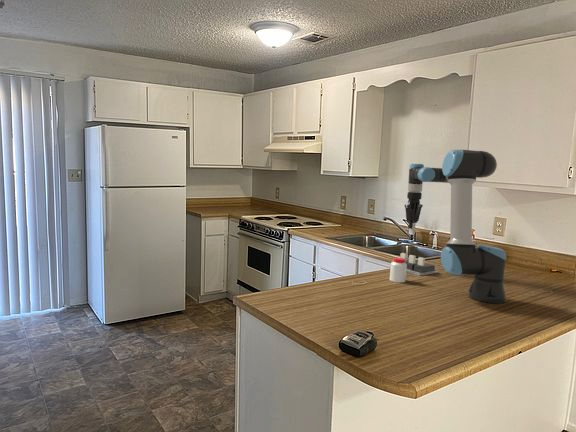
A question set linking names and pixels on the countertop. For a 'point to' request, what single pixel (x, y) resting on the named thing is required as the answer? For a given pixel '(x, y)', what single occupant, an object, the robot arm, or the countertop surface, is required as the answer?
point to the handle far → (421, 261)
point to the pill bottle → (398, 270)
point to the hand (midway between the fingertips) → (411, 234)
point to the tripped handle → (403, 256)
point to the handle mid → (412, 259)
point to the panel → (420, 268)
